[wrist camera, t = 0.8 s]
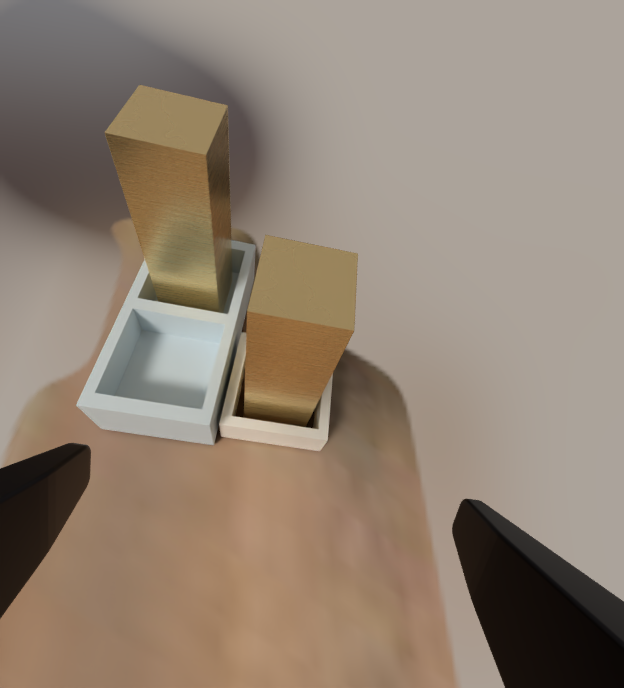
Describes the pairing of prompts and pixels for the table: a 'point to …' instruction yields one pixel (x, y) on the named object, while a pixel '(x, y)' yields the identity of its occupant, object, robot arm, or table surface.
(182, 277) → the seated billet
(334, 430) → the table surface
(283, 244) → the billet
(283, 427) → the box
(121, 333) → the two-compartment pale blue organizer
